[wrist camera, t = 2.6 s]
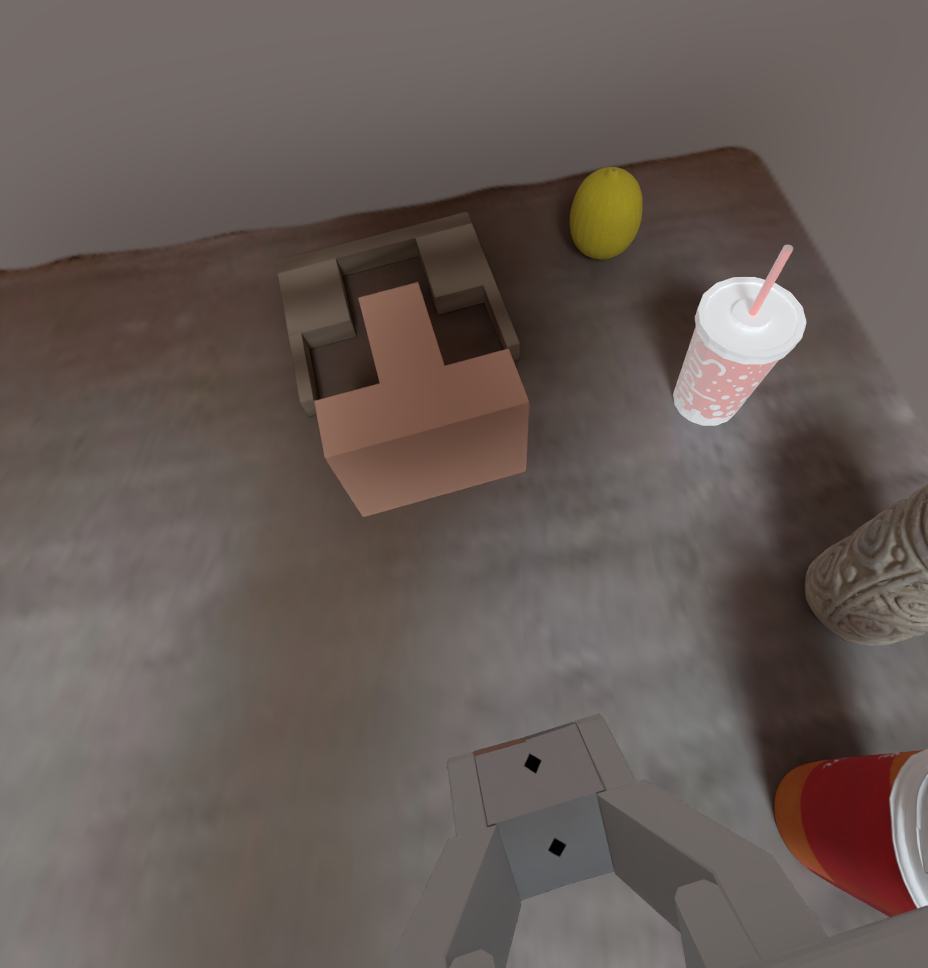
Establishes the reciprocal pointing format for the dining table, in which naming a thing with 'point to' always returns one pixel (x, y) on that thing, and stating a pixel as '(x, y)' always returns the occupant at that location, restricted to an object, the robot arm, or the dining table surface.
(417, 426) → the t block
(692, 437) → the dining table surface
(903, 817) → the paper cup
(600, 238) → the lemon
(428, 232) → the t dock
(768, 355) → the beverage cup
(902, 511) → the carving
